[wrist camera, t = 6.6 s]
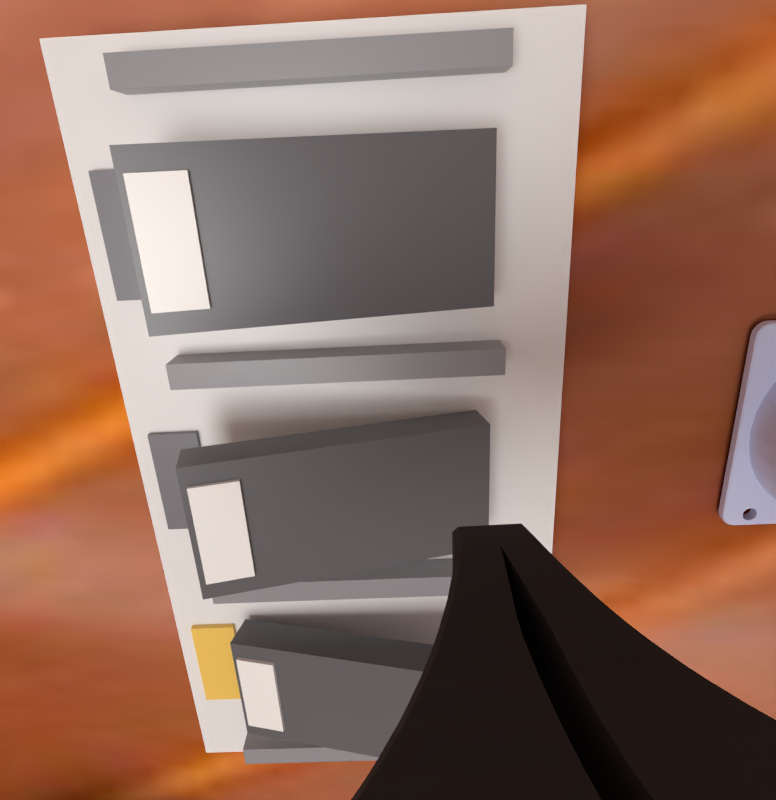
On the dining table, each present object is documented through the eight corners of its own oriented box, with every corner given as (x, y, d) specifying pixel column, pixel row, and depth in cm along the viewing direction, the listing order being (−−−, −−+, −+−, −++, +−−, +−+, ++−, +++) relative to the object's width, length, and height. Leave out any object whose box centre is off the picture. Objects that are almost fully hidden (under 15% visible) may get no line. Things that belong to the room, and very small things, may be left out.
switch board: (559, 28, 17) (599, -8, 13) (527, 692, 26) (546, 766, 23) (87, 57, 17) (15, 29, 14) (222, 701, 27) (199, 775, 23)
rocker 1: (481, 131, 15) (498, 127, 14) (480, 297, 17) (495, 307, 15) (123, 148, 14) (107, 144, 13) (158, 325, 15) (147, 338, 14)
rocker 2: (491, 652, 19) (487, 684, 18) (489, 746, 21) (486, 781, 20) (245, 619, 21) (228, 646, 20) (261, 706, 23) (245, 736, 22)
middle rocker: (476, 409, 18) (492, 426, 17) (475, 527, 20) (489, 550, 19) (180, 449, 17) (174, 470, 15) (206, 574, 18) (202, 602, 17)
